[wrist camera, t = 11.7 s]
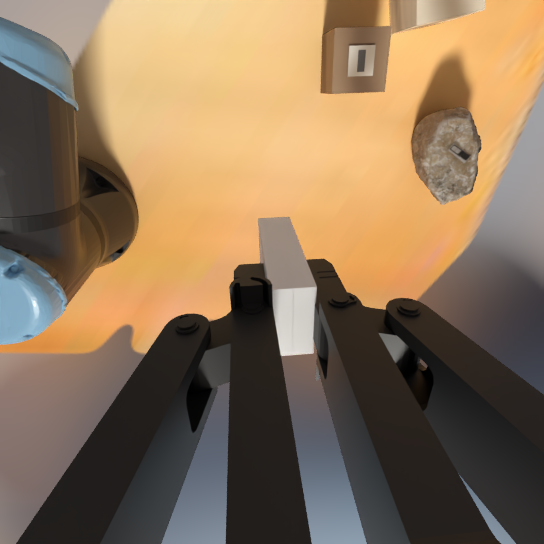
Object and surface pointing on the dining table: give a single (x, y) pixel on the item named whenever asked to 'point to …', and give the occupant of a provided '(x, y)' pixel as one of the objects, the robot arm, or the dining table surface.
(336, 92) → the marked block
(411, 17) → the plain block
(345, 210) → the dining table surface
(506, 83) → the dining table surface
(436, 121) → the stone
